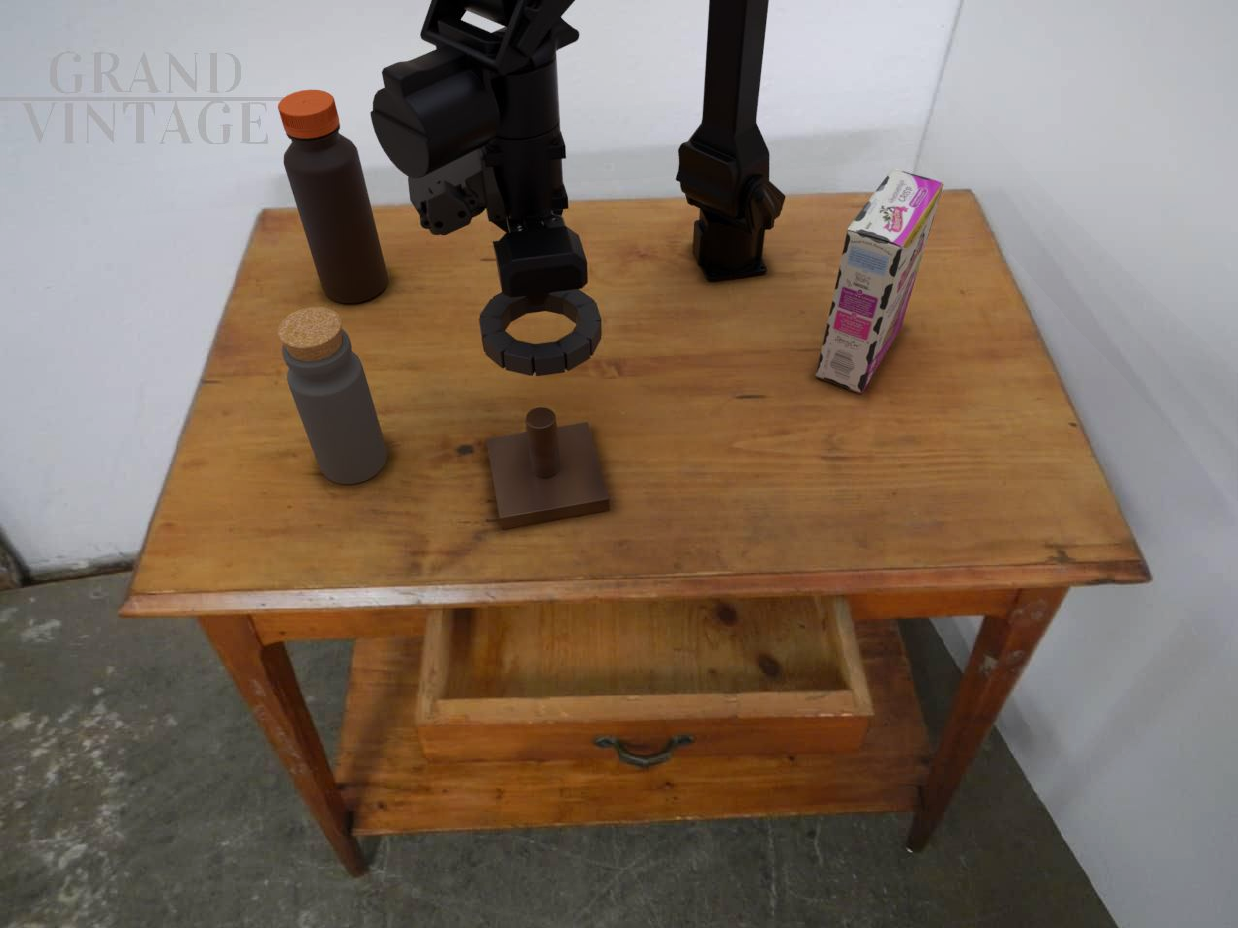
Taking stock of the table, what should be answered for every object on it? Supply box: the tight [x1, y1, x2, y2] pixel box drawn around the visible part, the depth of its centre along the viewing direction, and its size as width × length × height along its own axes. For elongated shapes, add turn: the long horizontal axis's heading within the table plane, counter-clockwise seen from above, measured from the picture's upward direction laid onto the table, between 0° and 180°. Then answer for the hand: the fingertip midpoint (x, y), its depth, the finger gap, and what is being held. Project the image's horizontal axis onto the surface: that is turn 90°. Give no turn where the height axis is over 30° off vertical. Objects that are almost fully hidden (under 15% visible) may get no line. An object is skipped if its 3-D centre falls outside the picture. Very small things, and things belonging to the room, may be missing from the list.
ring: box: [478, 289, 603, 377], centre depth 75 cm, size 10×10×2 cm
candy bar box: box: [815, 168, 945, 394], centre depth 84 cm, size 11×5×16 cm, turn 150°
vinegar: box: [277, 89, 389, 304], centre depth 90 cm, size 7×7×20 cm
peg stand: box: [485, 406, 611, 530], centre depth 77 cm, size 9×9×8 cm
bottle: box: [277, 306, 388, 485], centre depth 76 cm, size 6×6×15 cm
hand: (534, 296), depth 78 cm, fingers closed on ring, 2 cm apart
